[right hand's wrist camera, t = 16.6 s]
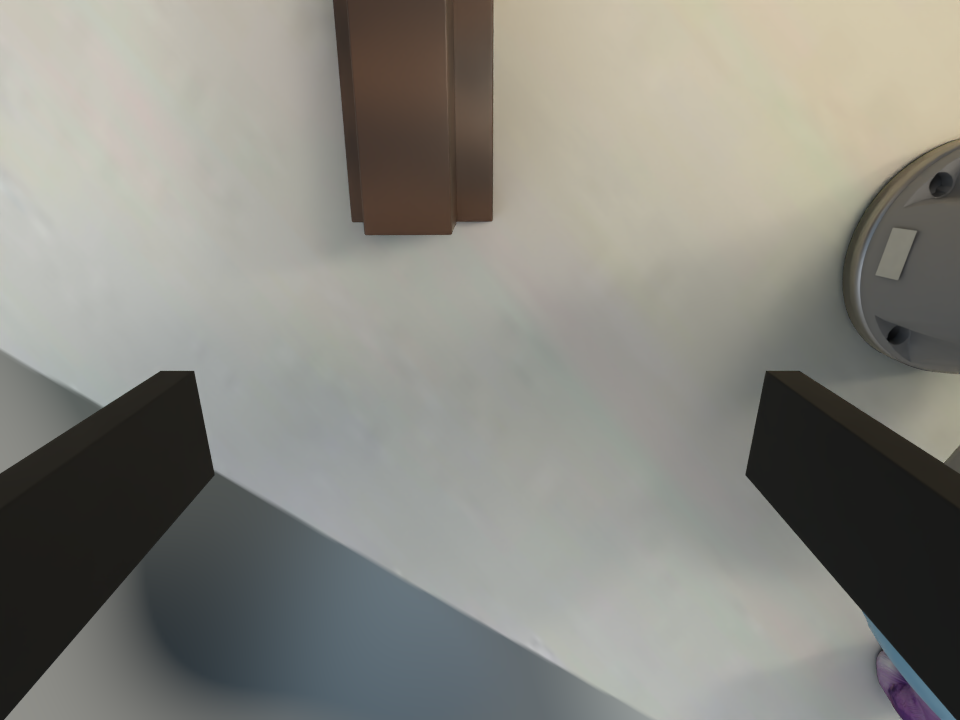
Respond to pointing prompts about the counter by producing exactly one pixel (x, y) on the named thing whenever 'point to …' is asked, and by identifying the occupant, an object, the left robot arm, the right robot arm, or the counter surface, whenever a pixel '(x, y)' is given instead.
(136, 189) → the counter surface
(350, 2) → the rail
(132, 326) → the counter surface
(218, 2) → the counter surface
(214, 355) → the counter surface
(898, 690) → the figurine
